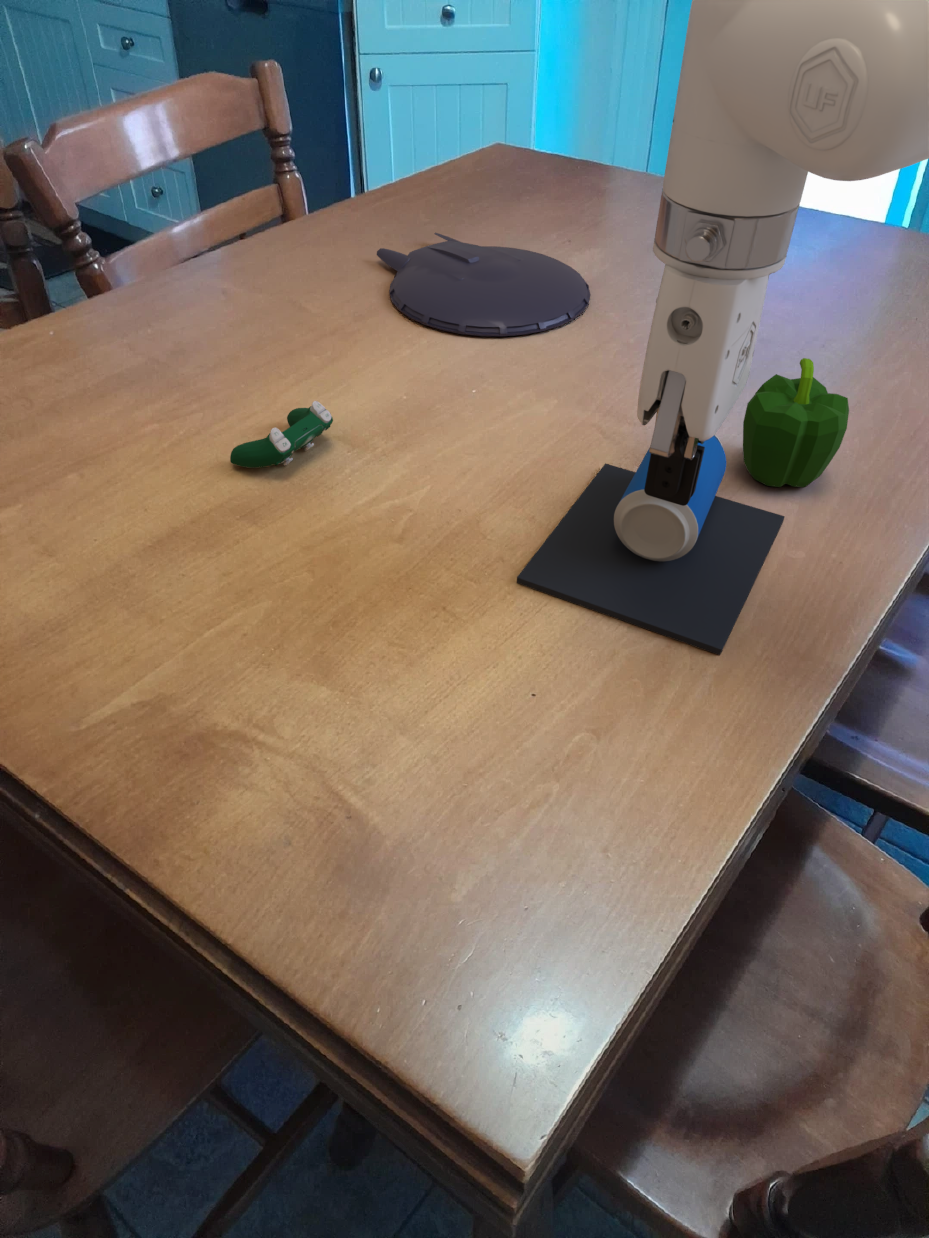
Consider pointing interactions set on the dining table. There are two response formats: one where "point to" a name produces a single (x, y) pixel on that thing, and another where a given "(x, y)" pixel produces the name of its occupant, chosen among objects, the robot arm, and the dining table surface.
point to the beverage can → (668, 510)
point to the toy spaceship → (485, 288)
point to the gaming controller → (284, 439)
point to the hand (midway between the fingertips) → (668, 494)
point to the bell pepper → (793, 429)
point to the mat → (655, 566)
